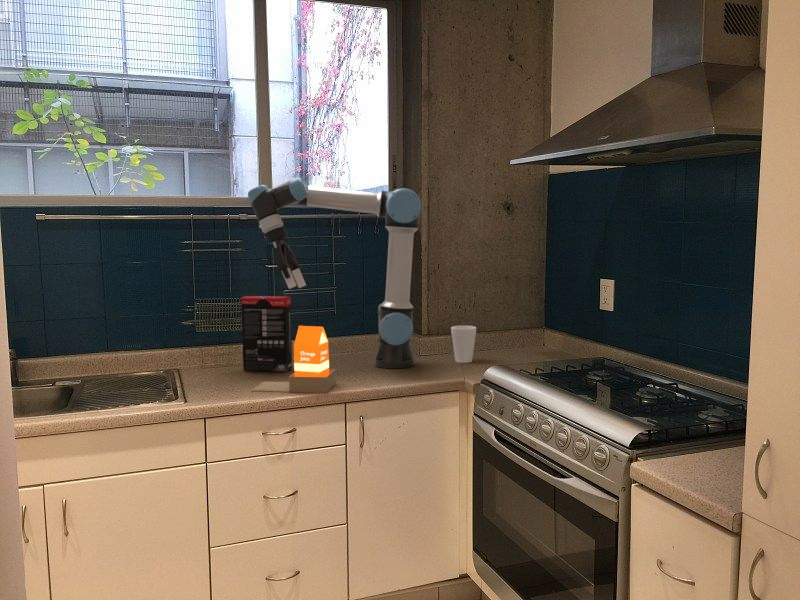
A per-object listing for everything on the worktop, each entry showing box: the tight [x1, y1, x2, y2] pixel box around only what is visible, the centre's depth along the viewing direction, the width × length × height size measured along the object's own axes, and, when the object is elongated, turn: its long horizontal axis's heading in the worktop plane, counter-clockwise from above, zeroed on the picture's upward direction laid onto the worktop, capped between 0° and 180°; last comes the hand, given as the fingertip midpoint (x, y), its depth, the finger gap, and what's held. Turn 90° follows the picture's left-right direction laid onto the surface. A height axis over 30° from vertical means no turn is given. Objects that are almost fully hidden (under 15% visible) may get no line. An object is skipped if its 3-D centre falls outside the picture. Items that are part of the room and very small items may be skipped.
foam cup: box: [450, 325, 477, 364], centre depth 264 cm, size 10×9×13 cm
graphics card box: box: [240, 295, 293, 373], centre depth 251 cm, size 17×7×27 cm, turn 84°
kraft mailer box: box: [251, 368, 337, 394], centre depth 226 cm, size 25×12×5 cm, turn 82°
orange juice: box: [293, 325, 330, 377], centre depth 223 cm, size 8×9×20 cm
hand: (297, 287), depth 237 cm, fingers open, 13 cm apart
